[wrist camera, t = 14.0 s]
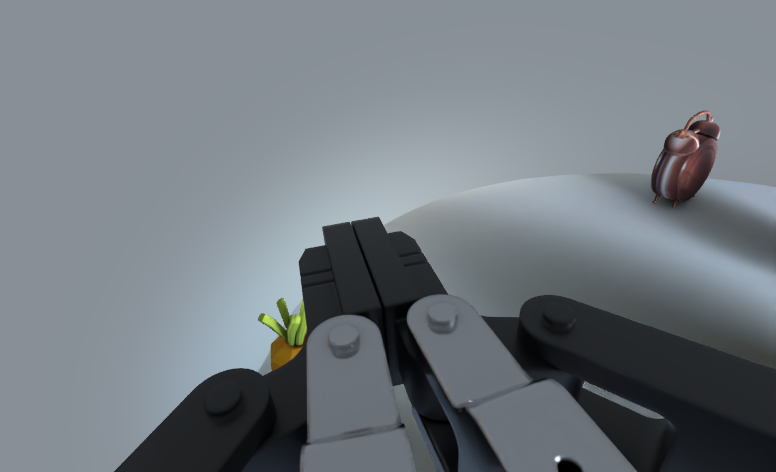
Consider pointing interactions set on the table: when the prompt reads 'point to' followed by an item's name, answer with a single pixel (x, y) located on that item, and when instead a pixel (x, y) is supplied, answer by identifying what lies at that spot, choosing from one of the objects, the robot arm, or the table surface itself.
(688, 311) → the table surface
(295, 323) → the carrot
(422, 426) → the robot arm
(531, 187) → the table surface
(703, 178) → the alarm clock
